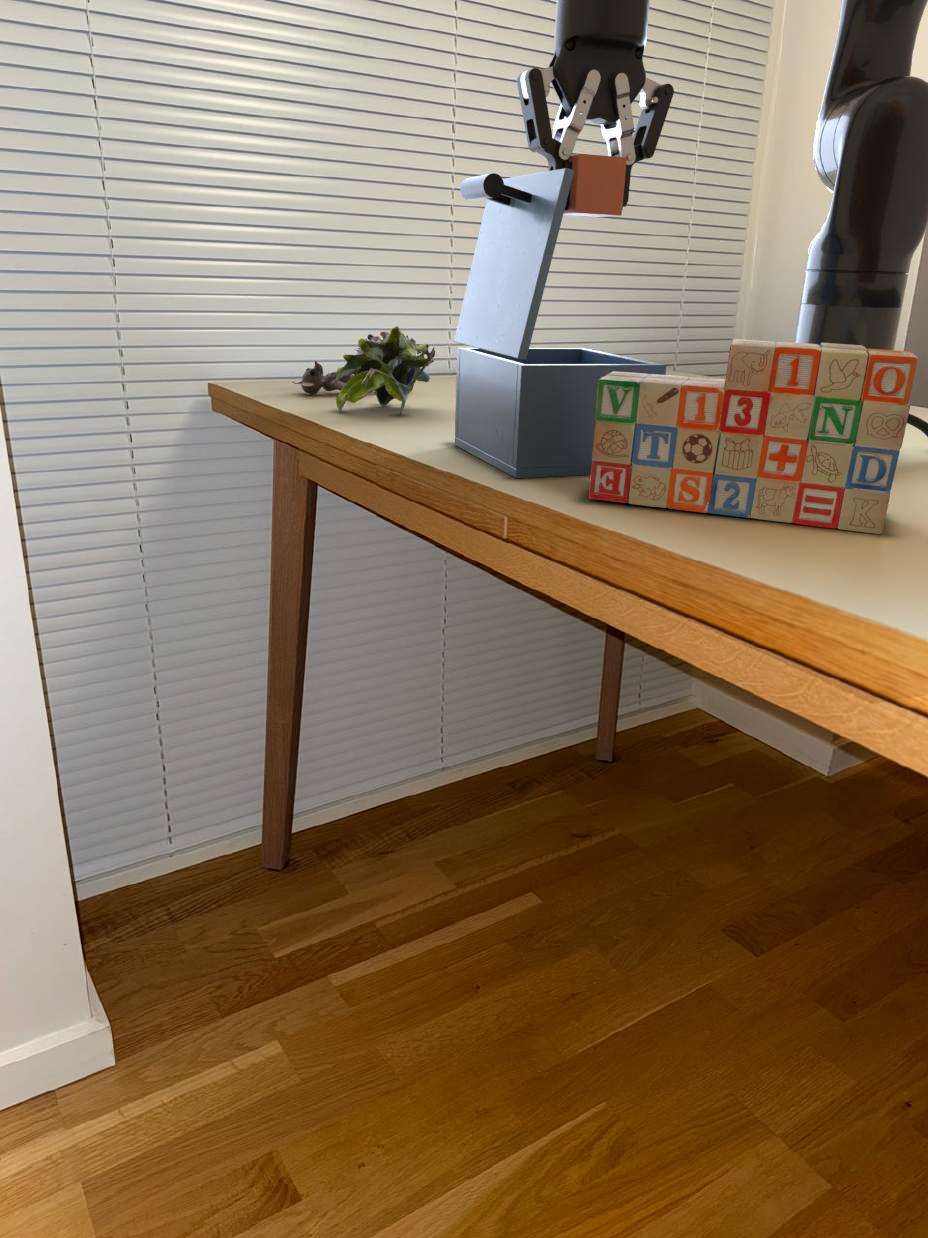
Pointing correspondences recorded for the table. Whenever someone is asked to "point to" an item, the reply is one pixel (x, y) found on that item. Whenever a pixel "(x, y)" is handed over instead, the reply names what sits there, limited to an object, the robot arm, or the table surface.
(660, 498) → the stack of blocks
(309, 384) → the grey irregular figure
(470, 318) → the lid
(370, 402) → the table surface
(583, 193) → the block
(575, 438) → the blue-grey open box
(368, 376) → the green leafy plant
